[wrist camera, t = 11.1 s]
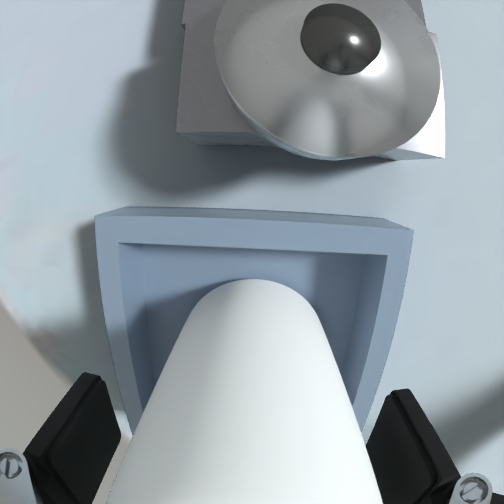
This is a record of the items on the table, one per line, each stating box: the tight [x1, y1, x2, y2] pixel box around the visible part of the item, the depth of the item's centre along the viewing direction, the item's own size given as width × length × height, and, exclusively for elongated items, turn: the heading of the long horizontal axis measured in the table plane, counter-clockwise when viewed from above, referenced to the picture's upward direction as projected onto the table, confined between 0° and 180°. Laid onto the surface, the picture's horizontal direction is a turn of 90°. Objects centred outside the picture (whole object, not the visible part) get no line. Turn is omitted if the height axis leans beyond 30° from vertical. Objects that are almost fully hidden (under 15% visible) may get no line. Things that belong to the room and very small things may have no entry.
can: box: [106, 279, 383, 504], centre depth 8 cm, size 6×6×12 cm
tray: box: [95, 207, 414, 435], centre depth 13 cm, size 12×12×3 cm
